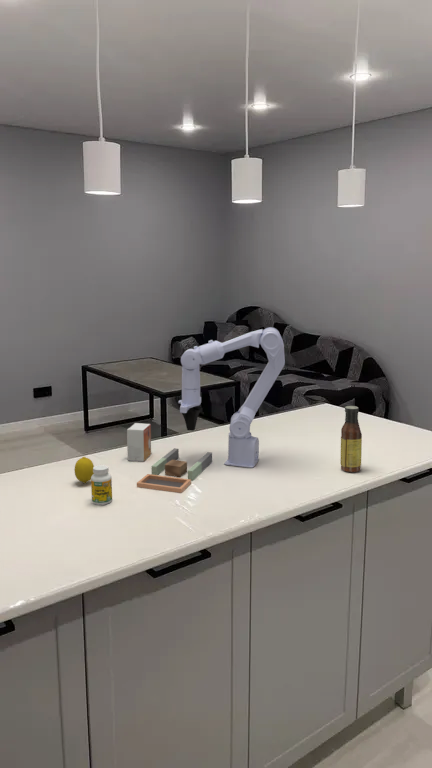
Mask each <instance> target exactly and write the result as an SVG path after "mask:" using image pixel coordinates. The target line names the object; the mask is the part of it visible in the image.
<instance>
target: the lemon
mask: <svg viewBox="0 0 432 768" xmlns="http://www.w3.org/2000/svg"><path fill="white" fill-rule="evenodd" d="M93 467H95V465H94V462H93V461H92V460H91V459H90V458H88V457H86V456H82V457H80V458H79V459H77V461H76V462H75V466H74V475H75V477H76V480H78V481H79V482H81V483H83V484H87V483H88V482H89V481H91V476H92V475H93V474H94V473H93Z"/></svg>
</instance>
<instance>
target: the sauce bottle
mask: <svg viewBox="0 0 432 768" xmlns="http://www.w3.org/2000/svg"><path fill="white" fill-rule="evenodd" d="M359 410H360V409H359V407H358V406H356V405H347V406H344V411H345V415H344V417H345V418H344V424H343V425H342V427H341V433H340V435H341V436H340V469H341V471H343V472H346V473H359V472H360V471H361V467H362V449H363V448H362V443H363V440H362V438H363V435H362V431H361V428H360V423H359Z"/></svg>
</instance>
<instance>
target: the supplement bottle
mask: <svg viewBox="0 0 432 768" xmlns="http://www.w3.org/2000/svg"><path fill="white" fill-rule="evenodd" d="M109 471H110V470H109V466H108V465H106V464H98V465H94V467H93V473H94V474H93V475H92V476H91V480H90V485H91V489H90V491H91V502H92V503H93V504H94V505H97V506H104V505H109V504H110V503H111V502H112V501H113V487H112V486H113V483H112V482H113V481H112V480H113V479H112V475H111V474H110V473H109Z"/></svg>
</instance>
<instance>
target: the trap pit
mask: <svg viewBox="0 0 432 768" xmlns="http://www.w3.org/2000/svg"><path fill="white" fill-rule="evenodd" d="M190 485H192V481H191V479H188V478H183V477H182V478H181V477H173V476H167V475H159V474H158V475H152V473H151V474H149V473H148V474H146V475H145V476H143V477H142V478H141V479H139V480H138V481H137V482H136V488H141V489H142V488H143V489H147V490H148V489H149V490H155V491H164V492H170V493H171V492H172V493H177V494H182V493H183V492H184V491H185V490H186V489H187V488H188V487H189V486H190Z"/></svg>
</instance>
